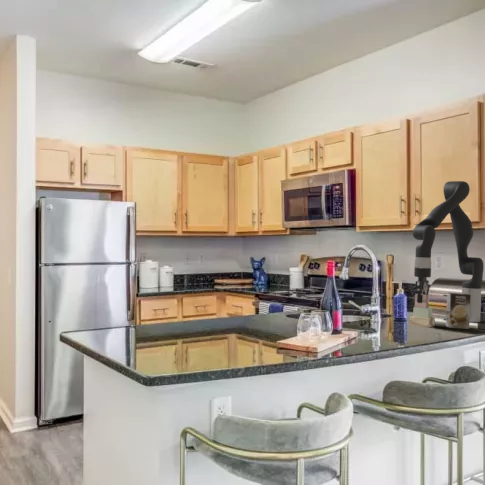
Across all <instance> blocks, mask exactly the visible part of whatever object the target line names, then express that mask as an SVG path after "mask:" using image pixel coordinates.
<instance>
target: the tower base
mask: <svg viewBox="0 0 485 485" xmlns="http://www.w3.org/2000/svg"><path fill="white" fill-rule="evenodd" d="M435 322H436V317H435V316H432V317H431V318H420V317H413V315H412V316H409V323H408V324H409V326H411V325H412V326H413V327H419V328H420V327H421V328H431V327H434V326H435ZM412 326H411V327H412Z"/></svg>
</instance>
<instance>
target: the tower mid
mask: <svg viewBox="0 0 485 485" xmlns="http://www.w3.org/2000/svg"><path fill="white" fill-rule="evenodd" d="M412 310H413V311H412V312H413V313H412V316H413V317H420V318H431V317H433V307H431V306H430V307H429V306H428V308H416V307H415V306H414V307H413V309H412Z"/></svg>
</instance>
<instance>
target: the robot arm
mask: <svg viewBox="0 0 485 485" xmlns="http://www.w3.org/2000/svg"><path fill="white" fill-rule="evenodd" d="M470 190H471V189H470V185H469V183H468V182H467V181H461V180H458V181H457V180H454V181H453V180H452V181H447V182H445V183H444V185H443V196H444V200H445V201H443V202H442V203H440V204H438V205H437V206H435V207H434V208H433V209H432V210H431V211H430V212H429V213H428V215H427V216H426V217H425V218H424V219H422V220H421V221H419V223H417V224H416V225H415V227H414V228H413V230H412V237H413V238H414V239H415V240H418V241H422V243H421V244H418V245H416V247H415V256H414V257H415V259H414V270H413V271H414V272H413V273H414V277H416V278H417V280H415V295H416V294H417V302H418V303H422V296H423V295H428V293H429V282H430V281H429V280H428V278H431V277H432V248H433V245H434V241H435V239H436V229H437V228H438V227H439V226H441V224H442V223H443V221H444V220H445V219H446V217H447V216H450V221H451V225H452V231H453V237H454V239H455V245H456V249H457V250H456V252H457V258H458V259H457V260H458V267H459V271H460V273H461V274H462V275H464V276H465V275H466V276H467V275H468V276H471V278H470V279H469V280H466V281H463V282H462V283H461V287H462V288H461V294H470V295H471V298H470V319H469V323H480V322H481V307H482V306H481V305H482V304H481V303H482V285H483V277H484V276H483V275H484V269H485V268H484V267H485V266H484V261H483V259H482V258H481V257H472V256H471V257H469V256H468V247H469V245H470V243H471V241H472V239H473V236H474V230H473V229H474V228H473V223H472V222H471V219H470V218H469V216H468V215H467V214H466V212H465V211H464V210H463V208H461V206H460V204H461V203H462V202H463V201H465V200H466V199H467V197H468V196H469V194H470Z"/></svg>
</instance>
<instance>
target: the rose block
mask: <svg viewBox="0 0 485 485" xmlns="http://www.w3.org/2000/svg"><path fill="white" fill-rule="evenodd" d="M429 297H430V296H429V294H426V295H423V296H422V303H418V302H417V294H416V293H415V294H414V307H416V308H428V307H429V301H430V299H429Z"/></svg>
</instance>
